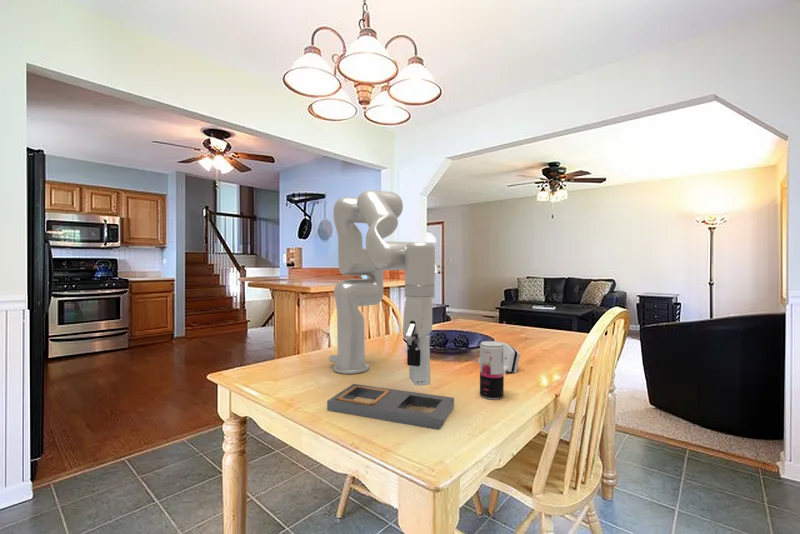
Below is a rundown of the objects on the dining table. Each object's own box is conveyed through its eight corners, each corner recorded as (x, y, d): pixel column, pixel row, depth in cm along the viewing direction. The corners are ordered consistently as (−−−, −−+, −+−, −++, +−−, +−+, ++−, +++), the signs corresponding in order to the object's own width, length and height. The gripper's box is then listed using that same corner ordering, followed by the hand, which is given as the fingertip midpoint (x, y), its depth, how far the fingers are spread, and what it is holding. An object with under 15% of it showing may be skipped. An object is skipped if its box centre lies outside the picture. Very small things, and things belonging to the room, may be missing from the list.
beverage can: (487, 401, 104) (487, 346, 104) (475, 392, 110) (475, 341, 110) (508, 398, 106) (508, 345, 106) (495, 390, 112) (496, 340, 112)
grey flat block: (327, 410, 98) (327, 399, 98) (353, 392, 111) (353, 383, 111) (439, 429, 87) (439, 417, 87) (453, 407, 100) (453, 396, 100)
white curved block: (477, 361, 143) (485, 336, 144) (487, 364, 145) (495, 339, 145) (504, 374, 127) (513, 346, 128) (515, 378, 129) (523, 349, 130)
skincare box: (431, 385, 94) (431, 336, 93) (413, 386, 93) (413, 337, 93) (424, 376, 100) (424, 331, 99) (407, 378, 99) (407, 332, 99)
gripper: (417, 287, 105) (416, 351, 106) (392, 294, 89) (391, 369, 90) (443, 289, 102) (442, 354, 103) (422, 296, 86) (422, 373, 87)
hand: (418, 360), depth 96 cm, fingers closed on skincare box, 7 cm apart
